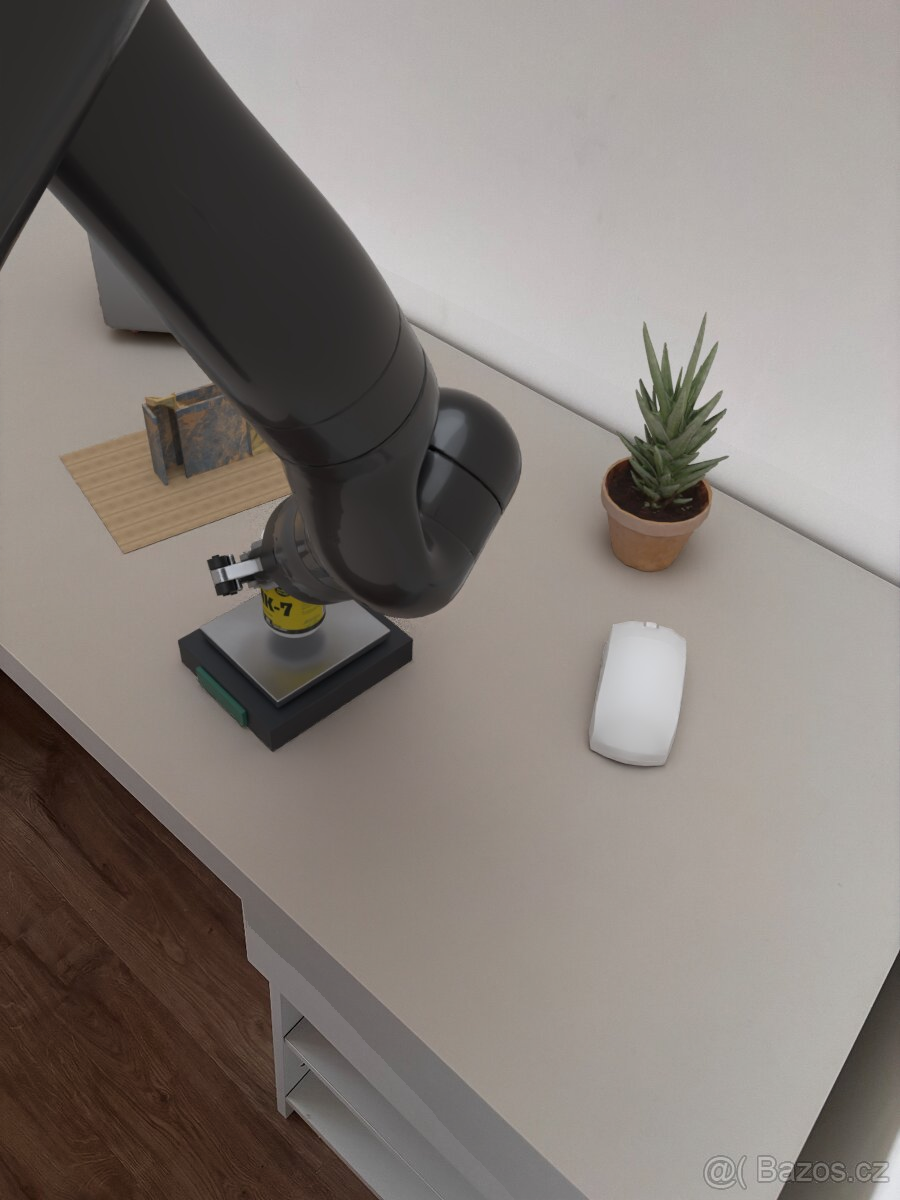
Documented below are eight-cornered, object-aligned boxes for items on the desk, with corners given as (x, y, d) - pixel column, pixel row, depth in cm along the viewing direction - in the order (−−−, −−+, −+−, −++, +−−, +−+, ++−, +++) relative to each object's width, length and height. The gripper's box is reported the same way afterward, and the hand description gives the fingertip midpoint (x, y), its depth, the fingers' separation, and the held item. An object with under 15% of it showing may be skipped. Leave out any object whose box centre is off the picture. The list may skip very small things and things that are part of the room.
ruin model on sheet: (124, 553, 93) (104, 464, 86) (58, 456, 102) (36, 369, 95) (368, 465, 104) (368, 380, 97) (289, 384, 113) (283, 301, 106)
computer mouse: (682, 654, 87) (698, 600, 83) (667, 778, 78) (684, 725, 74) (605, 638, 88) (617, 584, 84) (581, 759, 79) (593, 705, 75)
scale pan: (278, 708, 78) (277, 701, 77) (200, 634, 83) (198, 627, 82) (390, 637, 83) (390, 630, 83) (311, 571, 88) (311, 564, 88)
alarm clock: (148, 262, 131) (122, 107, 118) (275, 271, 130) (264, 117, 118) (101, 345, 117) (66, 180, 104) (244, 356, 116) (227, 191, 103)
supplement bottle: (251, 618, 81) (240, 535, 75) (296, 587, 84) (289, 504, 78) (294, 649, 79) (287, 566, 73) (339, 616, 82) (335, 534, 76)
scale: (268, 755, 78) (265, 734, 76) (177, 663, 84) (172, 642, 82) (412, 660, 86) (413, 638, 84) (319, 582, 92) (318, 561, 90)
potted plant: (574, 561, 95) (618, 314, 78) (613, 504, 101) (662, 262, 84) (679, 601, 92) (749, 353, 75) (713, 540, 98) (786, 297, 81)
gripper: (427, 452, 66) (357, 492, 82) (202, 508, 61) (175, 539, 77) (460, 568, 66) (384, 585, 82) (239, 633, 61) (204, 638, 77)
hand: (283, 563), depth 80 cm, fingers closed on supplement bottle, 4 cm apart
